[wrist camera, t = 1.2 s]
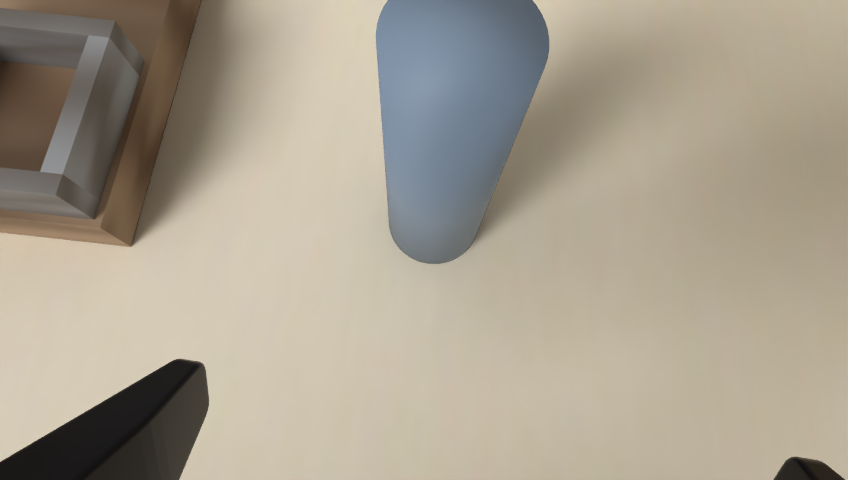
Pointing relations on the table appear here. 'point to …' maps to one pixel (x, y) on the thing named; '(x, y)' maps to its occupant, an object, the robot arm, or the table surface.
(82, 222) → the four-cup wooden tray
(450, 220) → the stool leg
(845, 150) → the table surface
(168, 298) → the table surface
